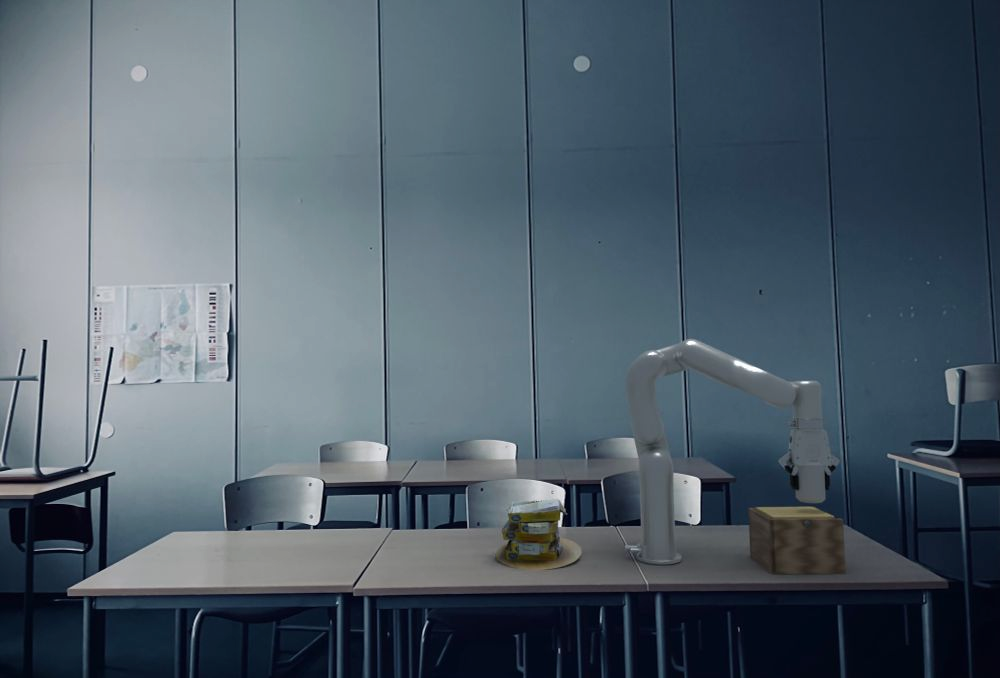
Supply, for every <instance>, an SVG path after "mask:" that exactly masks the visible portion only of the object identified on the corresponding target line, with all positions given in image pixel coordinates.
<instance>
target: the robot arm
mask: <svg viewBox="0 0 1000 678" xmlns="http://www.w3.org/2000/svg"><path fill="white" fill-rule="evenodd" d="M687 370H690V371H693V372H695V373H697V374H700V375H702V376H704V377H706V378H708V379H711V380H713V381H714V382H716V383H719V384H721V385H723V386H726V387H728V388H731V389H735V390H739V391H742V392H743V393H747V394H749V395H751V396H754V397H756V398H758V399H760V400H762V401H764V403H765V404H767V405H768V406H771V407H775V408H780V409H781V408H787V407H791V408H792V418H791V420H788V421H787V426H789V427H791V428H792V429H791V430H790V432H789V433H790V434H789V438H788V439H789V440H788V452H787V453H785V454H784V455H783V456H782V457H780V458H779V459H778V460H777V461H778V463H779V465H780V466H782V467H783V469H784V470H785V471H786V472H787V473H788V474H789V483H790V487H791V488H792V490H794V491H796V490H799V480H798V476H797V472H798V470H799V468H798V467H803V466H804V465H805V464H806V463H808V462H810V461H809V459H818V461H817V462H819V463H821V464H822V465H823V467H824V473H825V491H828V490H830V488H829V487H831V478H830V476H832V473H833V472H834V471H835V470H836V468H837V466H838V465H839V464H840V463H841V460H840V458H838V457H836V456H835V455H833V454H832V453H831V447H830V441H829V436H828V433H827V430H825V429H824V428H823V427H824V426H823V406H822V405H823V404H822V385H821V383H820V382H819V381H817V380H796V381H787V380H786V379H784V378H781V377H779V376H776V375H774V374H772V373H770V372H768V371H766V370H763V369H761V368H760V367H757V366H754V365H752V364H750V363H748V362H746V361H744V360H742V359H739V358H737V357H735V356H733V355H732V354H731V355H730V354H729V353H727V352H724V351H722V350H720V349H718V348H715V347H714V346H711V345H709V344H706V343H704V342H702V341H700V340H698V339H694V338H687V339H685V340H683V341H681V342H678V343H676V344H672V345H668V346H667V347H662V348H660V349H656V350H654V349H652V350H651V349H649V350H646V351H644V352H643V353H641V354H640V355H639V356H638V357H637V358H635V359H634V360H633V362H631V364H630V366H629V368H628V370H627V371H626V374H625V380H624V391H625V397H626V402H627V403H626V404H627V408H628V413H629V418H630V419H629V420H630V424H631V425H630V427H631V428H630V429H631V430H630V431H631V432H632V435H633V440H634V445H635V449H636V454H637V458H638V478H639V481H638V482H639V504H640V505H639V506H640V510H639V511H640V536H641V537H640V538H641V540H639V542H638V543H636V544H634V545H633V544H625V546H624V549H625V553H627V552H629V553H631V554H636V555H635V557H636V559H637V560H638V561H639V562H641V563H645V564H650V565H659V566H660V565H663V566H664V565H673V564H674V565H675V564H677V563H680V562H681V561H682V555H681V554H680V553H678V552H676V551H677V550H676V523H675V522H676V521H675V519H676V518H675V498H674V497H675V495H674V493H675V492H674V464H673V463H674V462H673V459H672V456H671V454H670V453H671V452H670V448H669V445H668V439H667V434H666V431H665V424H664V422H663V419H662V417H661V413H660V410H659V406H658V405H659V404H658V400H657V395H656V390H655V388H656V382H657V380H658V379H660V378H664V377H667V376H671V375H674V374H677V373H681V372H684V371H687ZM787 461H788V462H789V464H790V465H788V463H787Z"/></svg>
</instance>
